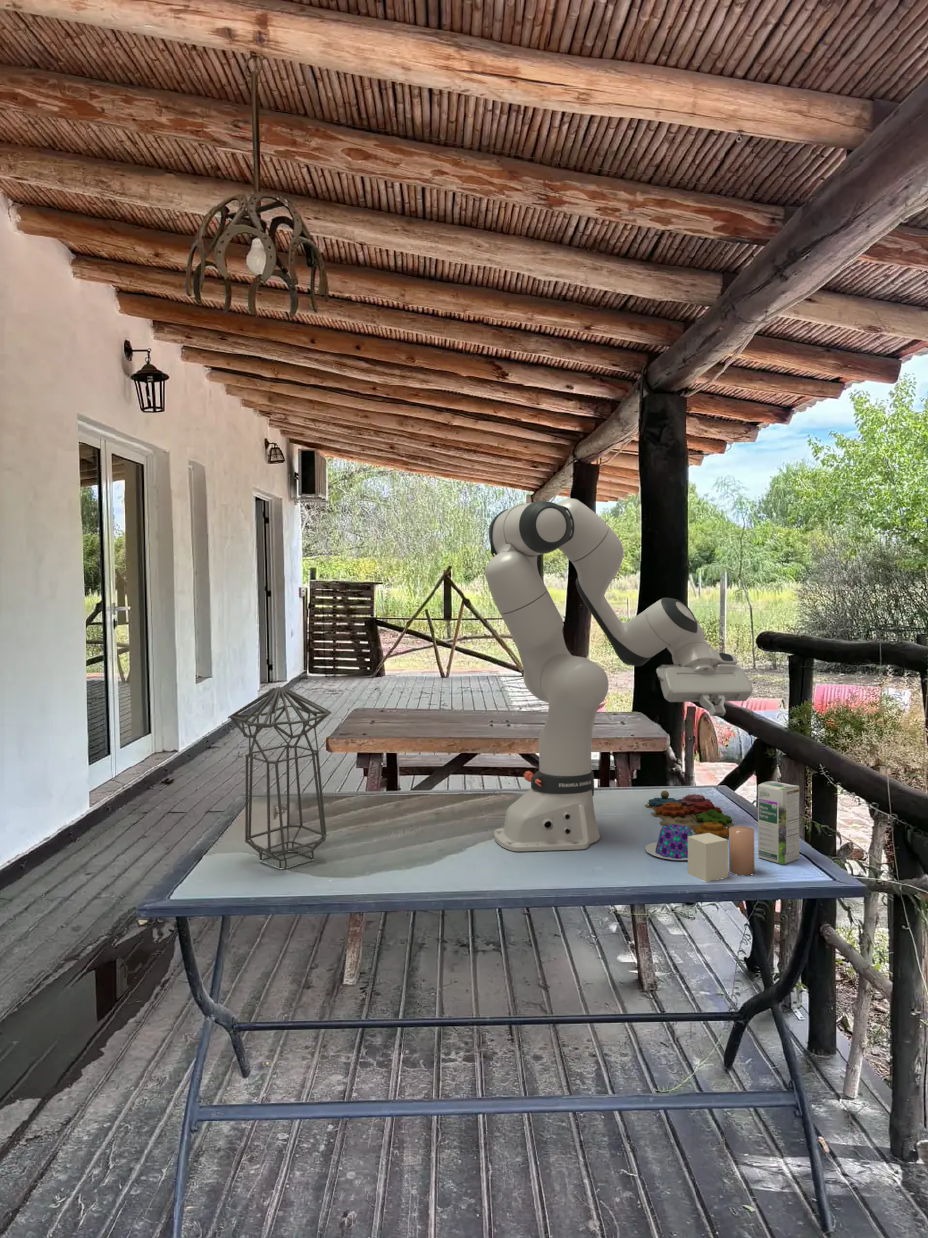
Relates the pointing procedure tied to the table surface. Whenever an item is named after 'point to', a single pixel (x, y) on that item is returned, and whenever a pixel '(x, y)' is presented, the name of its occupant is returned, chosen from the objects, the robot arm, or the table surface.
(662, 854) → the pudding
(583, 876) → the table surface
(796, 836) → the syrup box
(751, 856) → the terracotta cylinder
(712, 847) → the cream block
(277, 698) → the geometric lantern
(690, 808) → the gear puzzle
